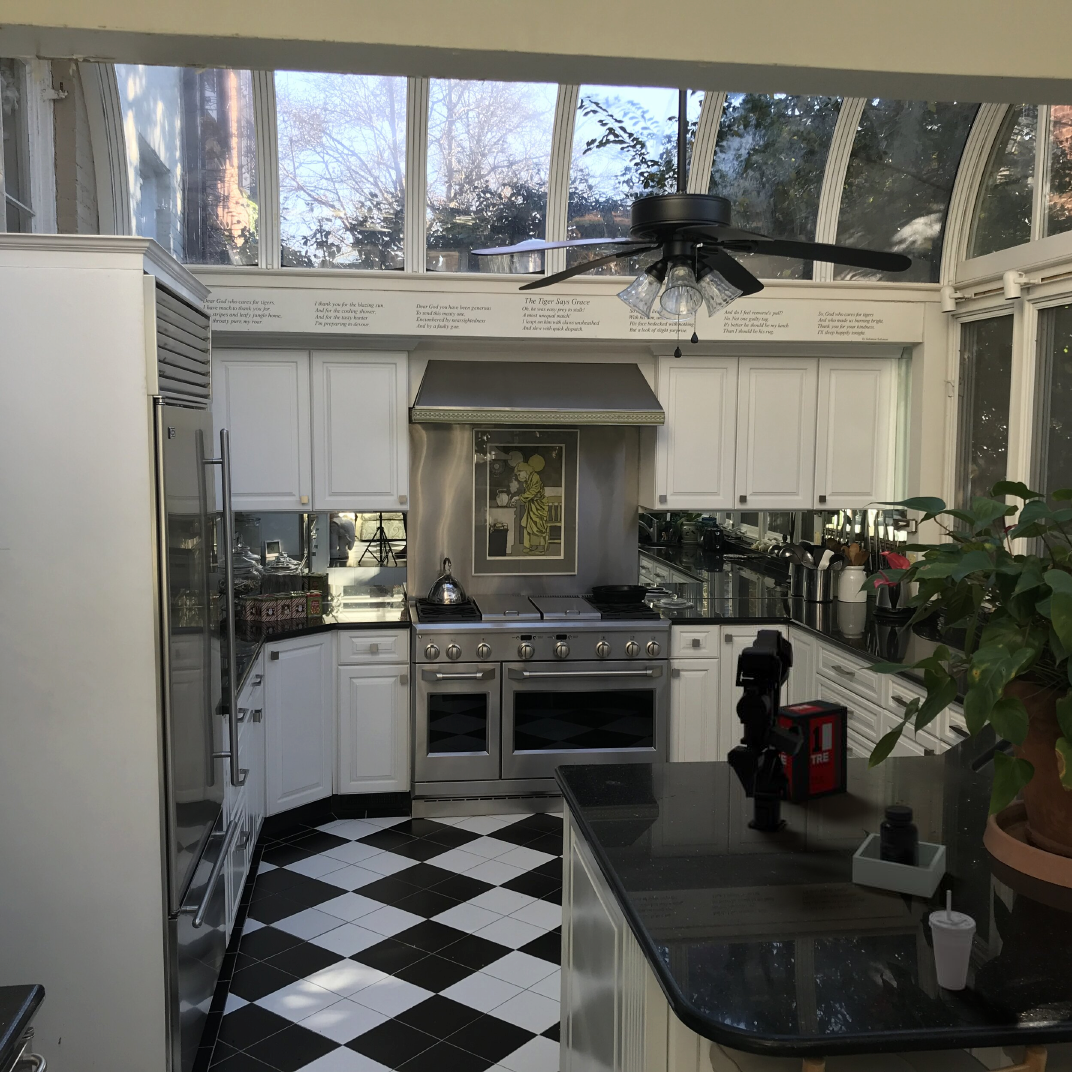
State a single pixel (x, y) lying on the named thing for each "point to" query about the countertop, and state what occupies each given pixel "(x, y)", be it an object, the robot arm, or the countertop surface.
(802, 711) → the cleaning product box
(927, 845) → the box
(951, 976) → the smoothie
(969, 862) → the countertop surface
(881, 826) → the supplement bottle
